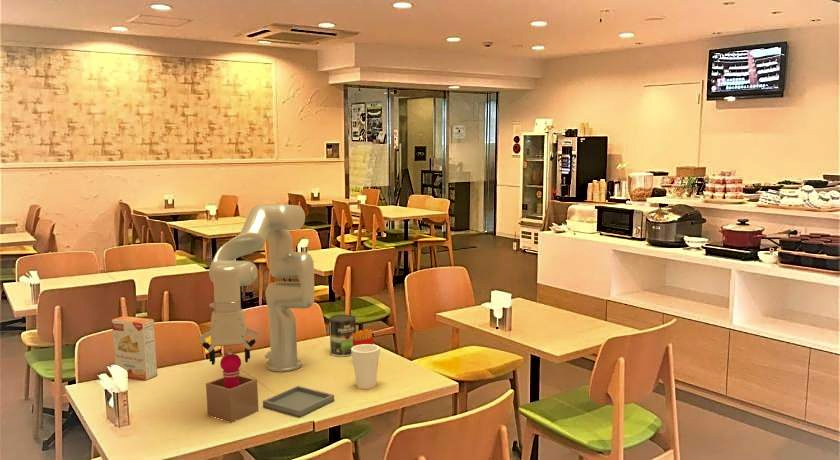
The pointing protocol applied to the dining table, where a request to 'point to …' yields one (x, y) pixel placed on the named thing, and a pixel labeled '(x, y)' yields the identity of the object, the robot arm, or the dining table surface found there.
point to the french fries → (362, 337)
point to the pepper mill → (231, 369)
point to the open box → (232, 399)
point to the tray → (298, 401)
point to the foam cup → (365, 364)
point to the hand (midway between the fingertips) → (230, 362)
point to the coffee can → (342, 334)
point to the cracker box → (135, 346)
